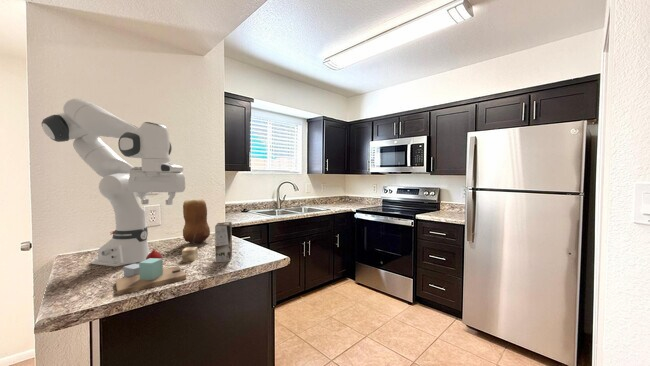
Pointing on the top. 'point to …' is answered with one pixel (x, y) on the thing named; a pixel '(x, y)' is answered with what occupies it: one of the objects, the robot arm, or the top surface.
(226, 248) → the coffee box
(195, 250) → the beech block
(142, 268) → the teal block
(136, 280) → the board
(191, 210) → the butternut squash
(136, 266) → the slate block
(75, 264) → the top surface
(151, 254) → the onion
